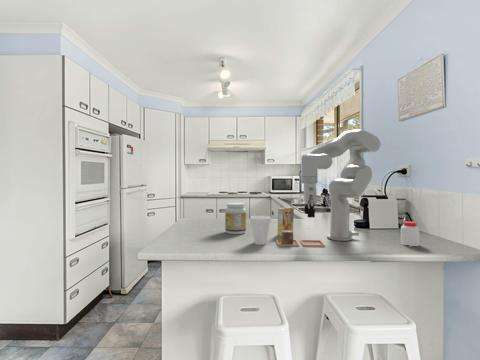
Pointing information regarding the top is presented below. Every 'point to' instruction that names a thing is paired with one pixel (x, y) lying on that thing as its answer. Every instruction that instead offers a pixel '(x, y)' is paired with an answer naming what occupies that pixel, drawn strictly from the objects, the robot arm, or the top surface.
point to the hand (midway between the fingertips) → (309, 215)
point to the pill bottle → (410, 234)
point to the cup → (260, 229)
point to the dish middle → (279, 243)
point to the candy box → (285, 219)
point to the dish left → (312, 243)
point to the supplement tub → (235, 218)
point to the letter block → (287, 237)
